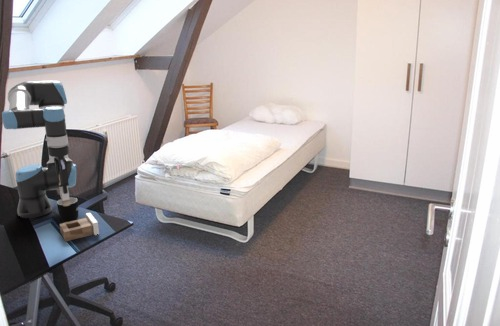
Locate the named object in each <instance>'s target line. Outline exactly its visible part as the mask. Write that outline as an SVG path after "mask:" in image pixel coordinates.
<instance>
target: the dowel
mask: <svg viewBox="0 0 500 326" xmlns="http://www.w3.org/2000/svg"><path fill="white" fill-rule="evenodd" d="M59 182H60V175H59ZM60 185H61V182H60ZM60 189H61V187H60ZM60 189H59V190H60ZM61 197H62V193H61V196H60V198H61ZM62 205H63V206H69V205H70V200H65V201H63V200H62Z"/></svg>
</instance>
